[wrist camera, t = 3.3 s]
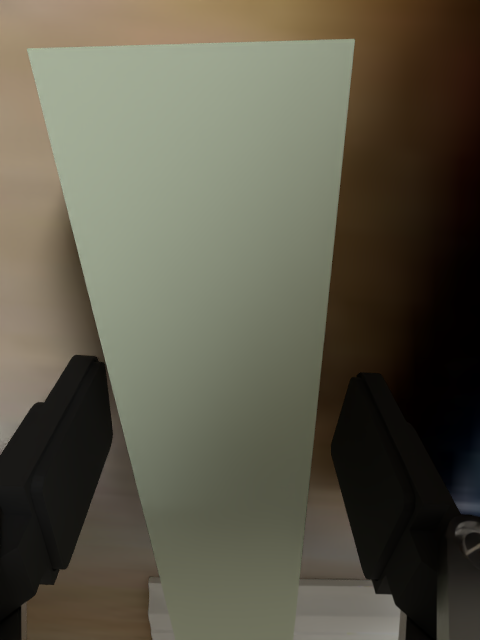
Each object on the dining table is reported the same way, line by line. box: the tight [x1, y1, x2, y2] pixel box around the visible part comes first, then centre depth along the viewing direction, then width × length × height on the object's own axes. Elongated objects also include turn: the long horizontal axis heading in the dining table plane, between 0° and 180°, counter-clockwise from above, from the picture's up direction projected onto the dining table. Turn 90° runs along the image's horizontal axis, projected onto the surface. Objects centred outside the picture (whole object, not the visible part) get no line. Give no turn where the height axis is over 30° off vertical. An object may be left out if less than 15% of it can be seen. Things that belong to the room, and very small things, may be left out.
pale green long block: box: [27, 39, 355, 640], centre depth 10 cm, size 16×4×4 cm, turn 1°
